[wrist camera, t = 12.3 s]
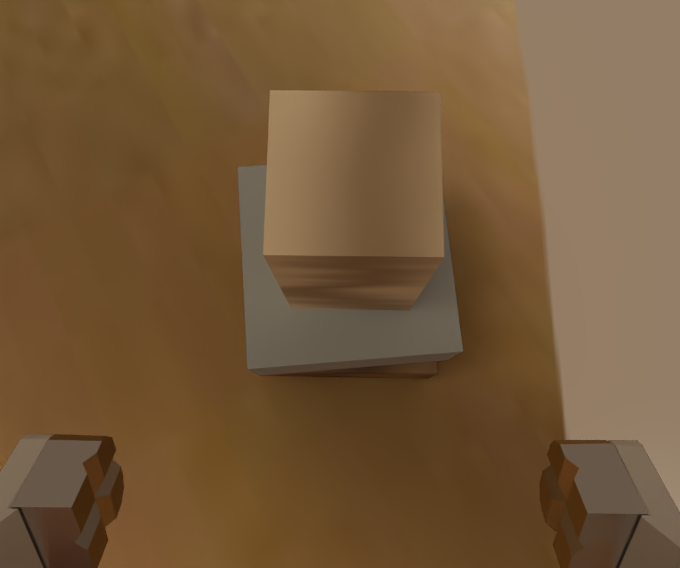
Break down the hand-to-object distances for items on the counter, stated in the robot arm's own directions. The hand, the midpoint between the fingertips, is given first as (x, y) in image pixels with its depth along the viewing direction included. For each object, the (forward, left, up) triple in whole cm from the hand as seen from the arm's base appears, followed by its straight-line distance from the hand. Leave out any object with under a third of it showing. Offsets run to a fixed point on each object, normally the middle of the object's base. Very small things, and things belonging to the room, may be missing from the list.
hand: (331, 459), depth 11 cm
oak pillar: (-4, +7, -13) cm, 15 cm away
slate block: (-4, +7, -17) cm, 19 cm away
